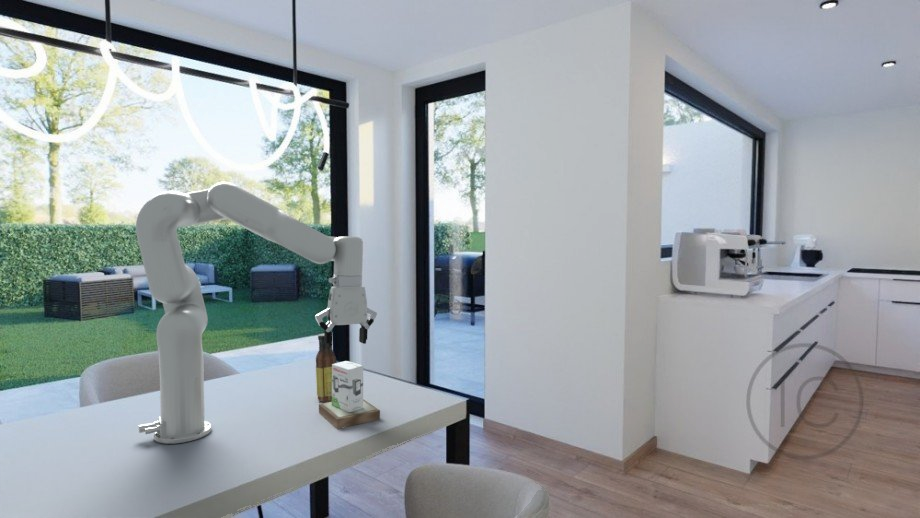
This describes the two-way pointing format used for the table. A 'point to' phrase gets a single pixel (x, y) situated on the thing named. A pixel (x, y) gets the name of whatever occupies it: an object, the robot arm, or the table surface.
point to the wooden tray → (348, 414)
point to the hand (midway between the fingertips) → (346, 344)
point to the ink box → (347, 386)
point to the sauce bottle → (324, 370)
